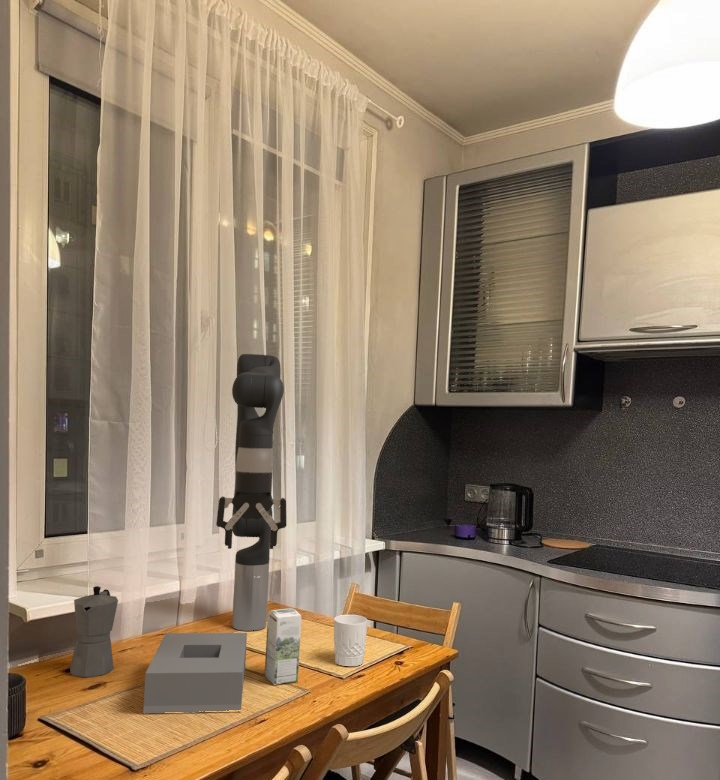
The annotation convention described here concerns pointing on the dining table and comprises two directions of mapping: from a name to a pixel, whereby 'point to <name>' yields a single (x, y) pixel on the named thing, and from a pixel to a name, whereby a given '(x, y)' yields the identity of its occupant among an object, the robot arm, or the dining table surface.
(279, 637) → the syrup box
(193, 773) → the dining table surface
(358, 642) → the white cup
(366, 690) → the dining table surface
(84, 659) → the coffeepot
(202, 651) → the post block
